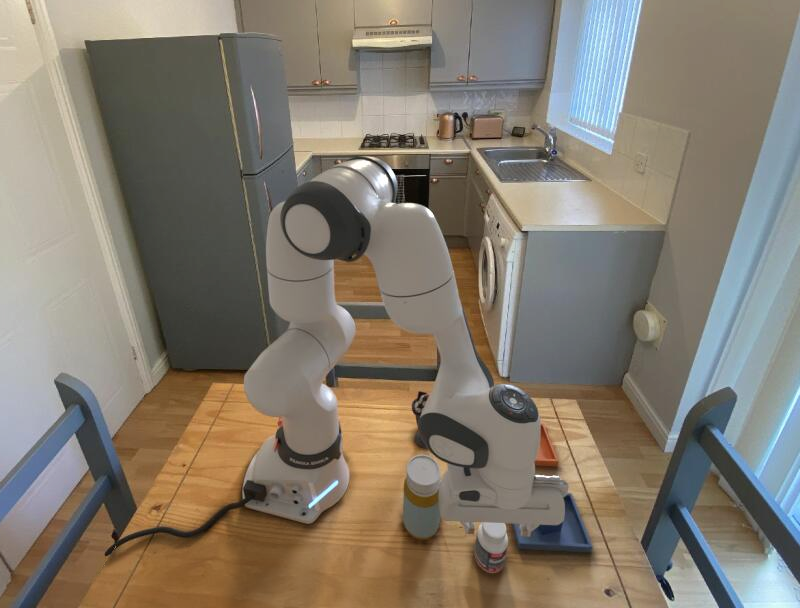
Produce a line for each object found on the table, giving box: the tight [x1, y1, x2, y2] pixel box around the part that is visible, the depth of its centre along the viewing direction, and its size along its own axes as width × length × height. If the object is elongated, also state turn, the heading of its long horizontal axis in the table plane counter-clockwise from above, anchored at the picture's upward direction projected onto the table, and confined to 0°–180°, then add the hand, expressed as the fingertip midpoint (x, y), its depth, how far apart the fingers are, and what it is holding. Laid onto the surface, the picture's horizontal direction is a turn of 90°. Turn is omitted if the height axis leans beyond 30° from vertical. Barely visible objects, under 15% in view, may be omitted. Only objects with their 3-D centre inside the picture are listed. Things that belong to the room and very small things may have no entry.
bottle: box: [402, 453, 442, 541], centre depth 79 cm, size 7×7×15 cm
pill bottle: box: [473, 522, 509, 574], centre depth 74 cm, size 5×5×9 cm
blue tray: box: [511, 492, 593, 554], centre depth 81 cm, size 13×10×2 cm
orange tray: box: [534, 422, 560, 467], centre depth 96 cm, size 13×10×2 cm
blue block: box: [538, 522, 563, 535], centre depth 80 cm, size 4×4×4 cm
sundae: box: [411, 390, 430, 449], centre depth 96 cm, size 7×7×15 cm
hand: (496, 531), depth 73 cm, fingers open, 8 cm apart
